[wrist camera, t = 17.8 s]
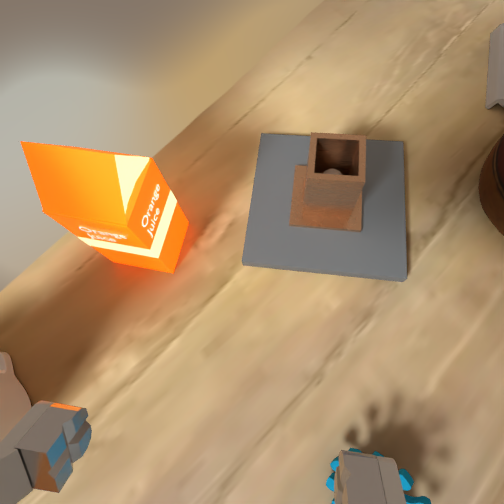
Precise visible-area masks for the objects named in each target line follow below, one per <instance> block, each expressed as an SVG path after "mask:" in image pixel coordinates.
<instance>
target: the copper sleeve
mask: <svg viewBox="0 0 504 504" xmlns="http://www.w3.org/2000/svg"><path fill="white" fill-rule="evenodd" d="M328 169H336V170H338V171H340V172H341V174H342V175H336V174H323V173H324V172H325V171H326V170H328ZM365 171H366V136H365V135H347V134H330V133H312V132H311V137H310V145H309V152H308V160H307V166H301V165H295V173H294V182H293V192H292V202H291V211H290V221H289V226H293V227H305V228H316V229H327V230H338V231H350V232H361V218H362V189H363V186H364V184H365Z"/></svg>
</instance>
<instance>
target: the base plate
mask: <svg viewBox="0 0 504 504" xmlns="http://www.w3.org/2000/svg"><path fill="white" fill-rule="evenodd" d="M310 137H311V136H298V135H280V134H263V133H261V139H260V145H259V152H258V158H257V165H256V172H255V178H254V185H253V191H252V198H251V204H250V211H249V217H248V224H247V231H246V237H245V244H244V250H243V257H242V264H243V265H245V266H255V267H264V268H274V269H283V270H293V271H303V272H312V273H322V274H331V275H341V276H350V277H360V278H370V279H379V280H389V281H398V282H403V281H405V280H406V279H407V257H406V221H405V186H404V150H403V142H401V141H384V140H367V139H366V171H365V184H364V186H363V189H362V218H361V232H350V231H338V230H327V229H316V228H305V227H293V226H289V221H290V211H291V202H292V192H293V182H294V173H295V165H301V166H307V160H308V152H309V145H310ZM323 174H336V175H342V174H341V172H340V171H338V170H336V169H328V170H326V171H325V172H324V173H323Z"/></svg>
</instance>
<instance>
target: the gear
mask: <svg viewBox="0 0 504 504" xmlns="http://www.w3.org/2000/svg"><path fill="white" fill-rule="evenodd" d="M348 451H351V452H358V453H362V452H361V451H360V450H358V449H354V448H350V449H349V450H348ZM372 455H375V456H380V457H384V456H383V455H381V454H380V453H378V452H377V451H375V452H374V453H373V454H372ZM330 465H331V467H332V469H333V470H334V471H336V467H338V466H339V456H338V457H336V458H335V459H334V460H333V461H332V462H331V464H330ZM398 472H399V476H400V480H401V484H402V488H403V490H406V491H408V490H410V489H411V487H412V485H413V483H414V481H413V479H412V477H411V476H410V474H409V473H408V472H407V471H406V470H405V469H400V470H399V471H398ZM334 479H335V473H332V474H331V475H330V476H329V478H328V479H327V482H326V486H327V487H328V488H329V489H330V490H332V491H334ZM404 496H405V500H406V504H431V501H430V499H429V498H427V497H425V496H420V497H412V496H408V495H406V494H404ZM332 504H335V499H333V500H332Z"/></svg>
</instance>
